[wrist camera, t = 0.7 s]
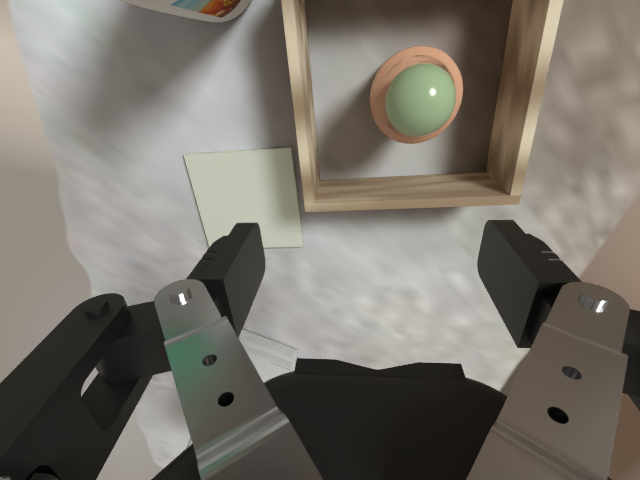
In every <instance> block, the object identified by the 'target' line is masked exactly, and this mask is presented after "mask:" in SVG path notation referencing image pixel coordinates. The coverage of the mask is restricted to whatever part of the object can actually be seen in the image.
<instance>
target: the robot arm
mask: <svg viewBox="0 0 640 480" xmlns="http://www.w3.org/2000/svg"><path fill="white" fill-rule="evenodd" d="M477 265H478V273H479V276H480V278H481V280H482V282H483V284H484V286H485V288H486V289H487V291H488V293H489V295H490V297H491V299H492V301H493V303H494V304H495V306H496V308H497V310H498V312H499V314H500V316H501V318H502V319H503V321H504V323H505V325H506V327H507V329H508V331H509V332H510V334H511V336H512V338H513V340H514V342H515V344H516V346H517V347H518V348H531V349H530V351H529V353H528V355H527V357H526V359H525V361H524V364H523V366H522V368H521V370H520V372H519V374H518V376H517V378H516V380H515V382H514V384H513V387H512V389H511V391H510V393H509V395H508V397H507V396H506V395H504V394H503V393H501V392H499V391H497V390H496V389H494V388H492V387H490V386H488V385H485V384H483V383H481V382H478V381H475V380H472V379H469V378H465V375H464V372H463V369H462V366H461V364H451V363H421V362H419V363H413V364H408V365H403V366H397V367H392V368H387V369H381V370H375V369H371V368H367V367H363V366H359V365H355V364H351V363H347V362H343V361H339V360H331V359H301V358H297V361H296V367H295V371H292V372H288V373H285V374H281V375H279V376H276V377H274V378H272V379H270V380H268V381H266V382H263V381H262V379H261V377H260V375H259V374H258V372H257V370H256V368H255V366H254V365H253V363H252V361H251V359H250V358H249V356H248V354H247V352H246V350H245V349H244V347H243V345H242V343H241V342H240V340H239V336H240V333H241V331H242V328H243V326H244V323H245V321H246V318H247V316H248V313H249V311H250V308H251V306H252V303H253V301H254V298H255V296H256V293H257V291H258V288H259V286H260V283H261V281H262V278H263V276H264V272H265V256H264V250H263V244H262V238H261V232H260V227H259V224H258V223H236V224H235V226H234V227H233V229H232V230H231V232H230V233H229V235H228V236H222V237H221V238H219V239H218V240H216V241H215V242H213V243H212V244H211V246H210V247H209V249H208V250H207V253H205V254H204V255H203V257H202V260H200V261H199V262H198V264H197V265H196V267H195V268H194V269H193V271H192V272H191V273H190V275H189V276H188V278H187V279H186V280H180V281H176V282H174V283H171V284H169V285H167V286H166V287H164V288H163V289H161V290H160V291H159V292H158V293H157V295H156V296H155V298H154V301H152V302H147V303H142V304H137V305H132V306H127V304H126V301H125V299H124V297H123V296H121V295H119V294H115V293H110V294H103V295H99V296H96V297H93V298H91V299H88V300H86V301H84V302H83V303H81V304H79V305H78V306H77V307H76V308H74V309H73V310H72V311H71V313H69V315H67V316H66V317H65V318H64V319H63V320H62V321H61V322H60V323H59V324H58V326H56V327H55V329H54V330H53V331H52V332H51V333H50V334H49V335H48V336H47V337H46V338H45V339H44V340H43V341H42V342H41V343H40V344H39V345H38V346H37V347H36V348H35V349H34V350H33V351H32V352H31V353H30V354H29V355H28V356H27V357H26V358H25V359H24V360H23V361H22V362H21V363H20V364H19V365H18V366H17V367H16V368H15V369H14V370H13V371H12V372H11V373H10V374H9V375H8V376H7V377H6V378H5V379H4V380H3V381H2V382H1V383H0V480H96V479H97V476H98V475H99V473H100V471H101V469H102V467H103V466H104V464H105V462H106V460H107V458H108V457H109V455H110V453H111V451H112V449H113V447H114V446H115V444H116V442H117V440H118V438H119V436H120V434H121V433H122V431H123V429H124V427H125V425H126V423H127V422H128V420H129V418H130V416H131V414H132V412H133V411H134V409H135V407H136V405H137V403H138V402H139V400H140V398H141V396H142V394H143V392H144V391H145V389H146V387H147V385H148V383H149V381H150V380H151V378H152V376H153V375H155V374H159V373H164V372H168V371H172V373H173V377H174V380H175V384H176V387H177V391H178V394H179V398H180V401H181V405H182V408H183V412H184V415H185V419H186V422H187V426H188V429H189V433H190V436H191V440H192V444H191V445H190V446H189V447H188V448H187V449H185V450H184V451H183V452H182V453H181V454H180V455H179V456H178V457H176V458H175V459H174V460H173V461H172V462H171V463H170V464H168V465H167V466H166V467H165V468H164V469H163V470H162V471H161V472H159V473H158V474H157V475H156V476H155V477H154V478H153V479H151V480H611V479H610V478H609V477H608V472H609V466H610V460H611V454H612V449H613V443H614V437H615V431H616V425H617V420H618V414H619V408H620V402H621V396H622V393H625V394H628V395H629V397H630V398H631V399H632V401H633V402H634V404H635V405H636V407H637V408H638V409H639V411H640V311H636V310H631V309H630V308H629V305H628V303H627V302H626V301H625V300H624V299H623V298H622V297H621V296H619V295H618V294H616V293H615V292H613V291H611V290H609V289H607V288H604V287H602V286H598V285H594V284H591V283H585V282H582V281H581V280H580V279H579V278H578V277H577V276H576V275H575V274H574V273H573V272H572V271H571V270H570V269H569V268H568V267H567V266H566V265H565V264H564V262H563V261H562V260H560V258H559V257H558V256H557V255H556V254H555V253H552V250H551V249H550V248H549V247H548V246H547V245H546V244H545V243H544V242H543V241H541V240H540V239H538V238H536V237H534V236H532V235H531V234H525V233H524V231H523V230H522V229H521V228H520V227H519V226H518V225H517V224H516V223H515V221H513V220H488V221H487V222H486V224H485V227H484V232H483V237H482V241H481V246H480V251H479V256H478V264H477ZM95 367H96V369H97V371H98V372H99V373H98V374H97V376H96V377H95V379H94V380H93V381H92V383H91V384H90V385H89V387H88V388H87V390H86V391H85V392H84V394H83V395H82V397H81V390H82V386H83V384H84V382H85V380H86V378H87V377H88V376H89V374H90V373H91V372H92V370H93V369H94V368H95Z"/></svg>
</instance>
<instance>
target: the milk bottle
mask: <svg viewBox="0 0 640 480" xmlns="http://www.w3.org/2000/svg"><path fill="white" fill-rule="evenodd" d="M121 1H123V2H126V3H129V4H132V5H135V6H139V7H142V8H146V9H149V10H154V11H158V12H163V13H167V14H172V15H176V16H181V17H186V18H191V19H196V20H202V21H207V22H225V21H229V20H231V19H233V18H235V17H237V16H238V15H240V14H241V13H242V12H243V11H244V10H245V9H246V8H247V6H248V5H249V3H250V2H251V0H121Z"/></svg>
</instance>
